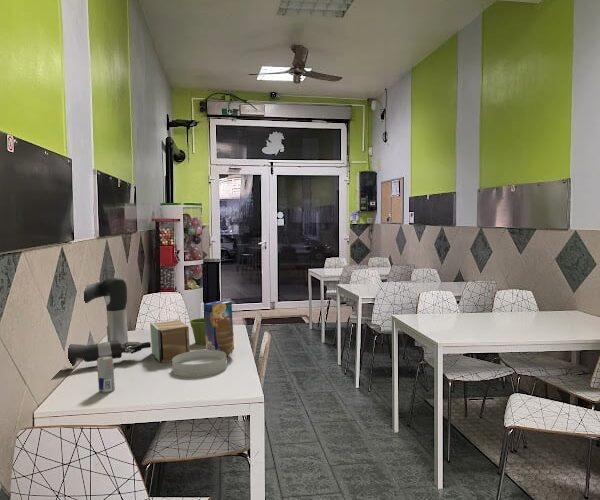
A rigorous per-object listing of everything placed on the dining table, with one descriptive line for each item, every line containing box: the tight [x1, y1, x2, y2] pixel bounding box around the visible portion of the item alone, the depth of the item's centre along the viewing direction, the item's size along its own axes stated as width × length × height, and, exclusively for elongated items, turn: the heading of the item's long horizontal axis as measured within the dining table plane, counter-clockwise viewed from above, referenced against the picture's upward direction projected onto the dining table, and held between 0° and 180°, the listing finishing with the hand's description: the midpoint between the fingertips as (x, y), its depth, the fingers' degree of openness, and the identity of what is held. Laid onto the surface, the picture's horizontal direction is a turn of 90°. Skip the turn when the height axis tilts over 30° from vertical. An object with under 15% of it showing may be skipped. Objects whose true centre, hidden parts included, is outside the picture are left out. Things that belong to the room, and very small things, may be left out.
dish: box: [171, 349, 228, 378], centre depth 208 cm, size 22×22×5 cm
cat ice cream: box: [216, 315, 234, 357], centre depth 224 cm, size 9×8×18 cm
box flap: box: [149, 322, 163, 363], centre depth 226 cm, size 19×1×14 cm, turn 26°
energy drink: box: [96, 356, 116, 394], centre depth 184 cm, size 5×5×12 cm
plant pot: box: [188, 317, 206, 345], centre depth 252 cm, size 12×12×11 cm
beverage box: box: [203, 300, 235, 351], centre depth 235 cm, size 7×11×22 cm, turn 138°
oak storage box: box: [153, 319, 191, 363], centre depth 229 cm, size 18×12×14 cm, turn 26°
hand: (150, 344), depth 227 cm, fingers closed
